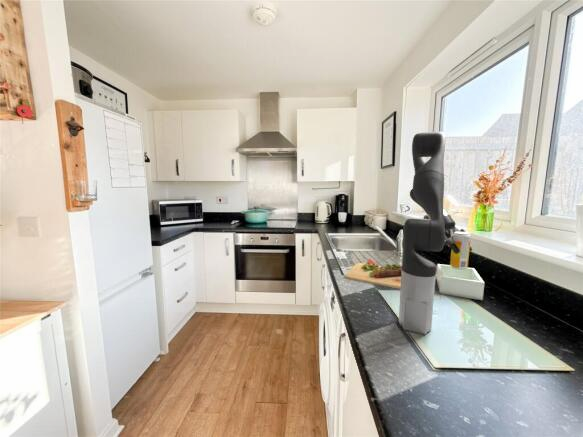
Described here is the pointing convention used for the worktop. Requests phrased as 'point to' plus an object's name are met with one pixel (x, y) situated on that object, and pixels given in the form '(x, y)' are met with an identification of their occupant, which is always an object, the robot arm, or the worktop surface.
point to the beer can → (463, 244)
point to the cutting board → (376, 274)
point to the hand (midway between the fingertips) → (464, 251)
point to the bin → (459, 282)
